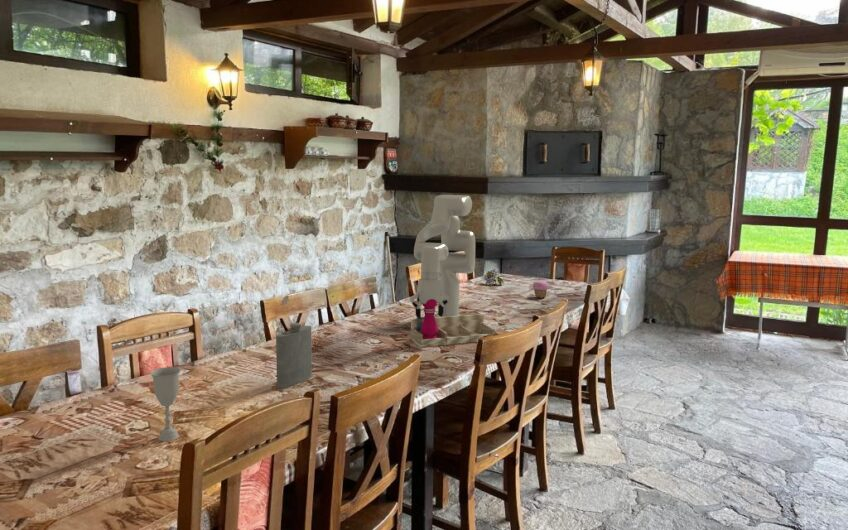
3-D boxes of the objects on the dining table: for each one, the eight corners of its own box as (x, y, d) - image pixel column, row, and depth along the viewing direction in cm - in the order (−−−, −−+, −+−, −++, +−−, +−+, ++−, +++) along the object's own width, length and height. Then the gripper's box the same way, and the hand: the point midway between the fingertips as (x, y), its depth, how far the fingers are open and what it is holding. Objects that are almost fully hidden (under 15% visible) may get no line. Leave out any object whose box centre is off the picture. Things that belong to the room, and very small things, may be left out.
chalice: (173, 429, 172) (170, 365, 169) (188, 435, 168) (185, 370, 165) (148, 438, 166) (144, 372, 163) (163, 445, 162) (160, 377, 159)
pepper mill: (435, 343, 258) (436, 295, 255) (418, 341, 259) (419, 293, 256) (439, 338, 265) (440, 291, 262) (422, 337, 266) (423, 290, 263)
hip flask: (306, 374, 219) (305, 318, 216) (315, 376, 217) (315, 319, 214) (274, 387, 205) (273, 327, 202) (284, 390, 203) (283, 329, 200)
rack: (420, 347, 255) (421, 324, 253) (410, 339, 266) (411, 317, 264) (494, 340, 267) (495, 318, 265) (482, 333, 278) (482, 312, 276)
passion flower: (488, 293, 394) (478, 277, 395) (496, 288, 402) (486, 272, 403) (501, 285, 387) (490, 269, 388) (509, 280, 395) (498, 264, 396)
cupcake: (550, 297, 359) (551, 279, 357) (544, 299, 351) (545, 282, 350) (535, 295, 363) (536, 278, 362) (529, 297, 356) (530, 280, 355)
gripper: (446, 273, 265) (445, 313, 267) (407, 275, 258) (406, 316, 261) (453, 276, 258) (452, 317, 261) (413, 278, 252) (412, 320, 254)
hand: (429, 316), depth 261 cm, fingers open, 9 cm apart
